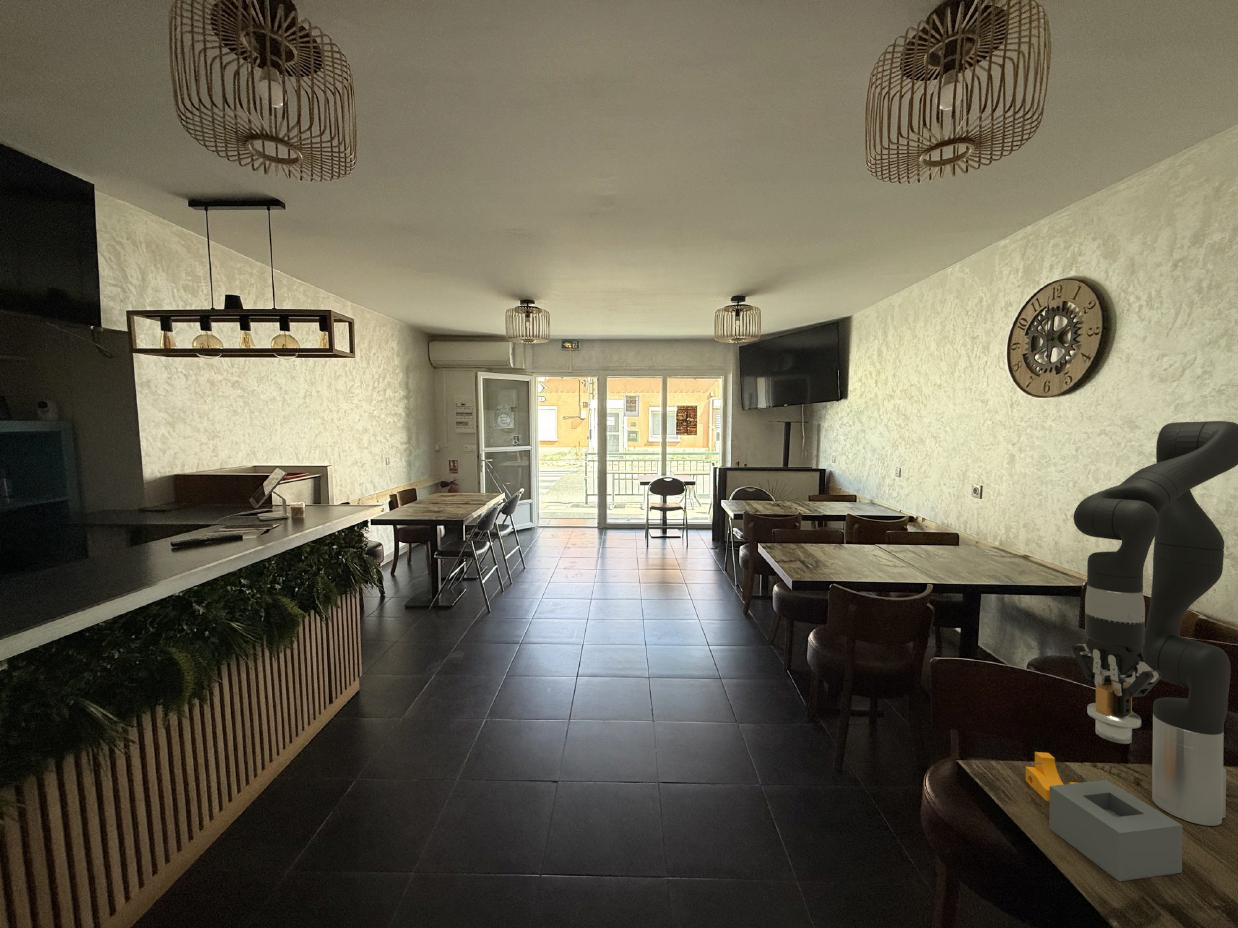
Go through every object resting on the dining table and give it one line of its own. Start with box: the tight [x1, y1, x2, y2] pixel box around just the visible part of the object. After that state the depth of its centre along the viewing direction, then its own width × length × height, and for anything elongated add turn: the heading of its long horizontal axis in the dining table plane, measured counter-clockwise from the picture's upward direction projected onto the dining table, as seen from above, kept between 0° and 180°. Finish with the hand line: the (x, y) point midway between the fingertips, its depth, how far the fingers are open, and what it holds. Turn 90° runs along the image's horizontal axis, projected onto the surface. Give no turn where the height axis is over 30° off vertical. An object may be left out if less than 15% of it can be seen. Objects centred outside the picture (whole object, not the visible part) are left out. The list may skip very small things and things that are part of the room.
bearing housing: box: [1048, 779, 1184, 882], centre depth 91 cm, size 12×12×8 cm
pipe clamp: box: [1025, 751, 1077, 802], centre depth 104 cm, size 12×4×6 cm, turn 172°
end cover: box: [1086, 684, 1142, 745], centre depth 91 cm, size 7×7×9 cm
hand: (1113, 711), depth 91 cm, fingers closed on end cover
